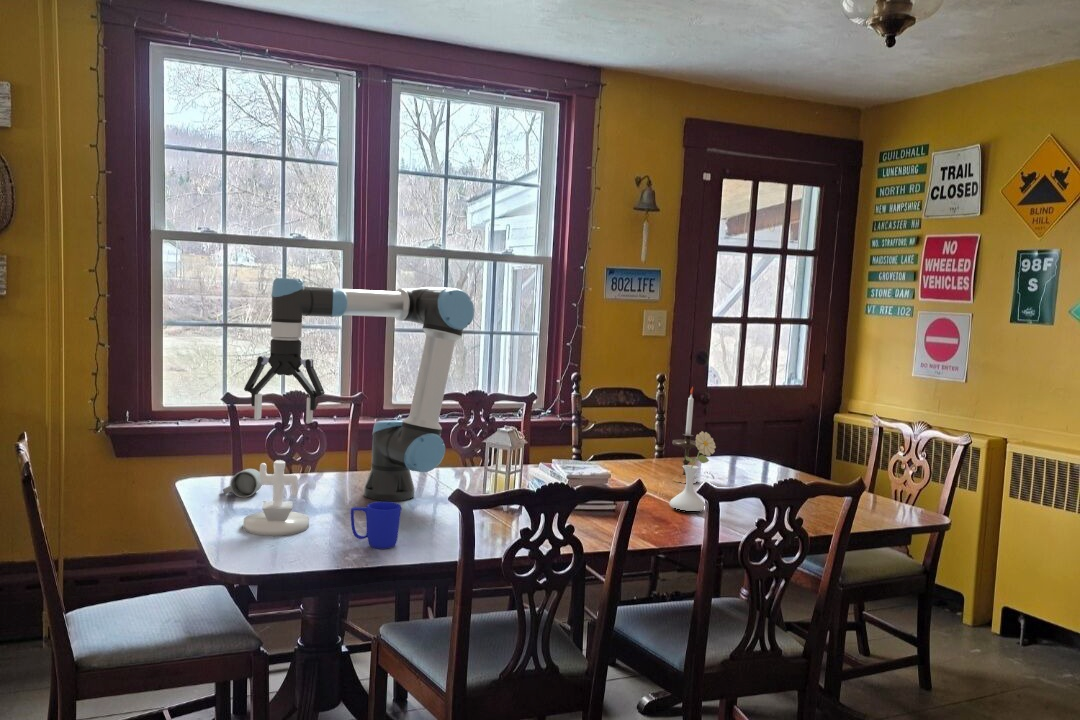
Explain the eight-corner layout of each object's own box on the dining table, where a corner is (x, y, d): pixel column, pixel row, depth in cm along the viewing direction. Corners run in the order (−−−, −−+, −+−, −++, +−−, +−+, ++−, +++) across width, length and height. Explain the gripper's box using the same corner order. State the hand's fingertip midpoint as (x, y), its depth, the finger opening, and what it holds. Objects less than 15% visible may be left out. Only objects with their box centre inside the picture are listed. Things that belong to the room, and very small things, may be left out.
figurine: (296, 522, 211) (298, 464, 210) (256, 522, 208) (259, 463, 207) (296, 514, 218) (298, 458, 217) (258, 515, 215) (260, 458, 214)
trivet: (317, 521, 221) (318, 513, 220) (294, 538, 205) (295, 530, 205) (259, 516, 222) (259, 508, 222) (232, 532, 206) (232, 524, 206)
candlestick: (702, 485, 298) (710, 388, 295) (672, 483, 298) (679, 386, 295) (696, 478, 309) (703, 385, 306) (667, 477, 309) (674, 383, 306)
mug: (351, 539, 207) (353, 500, 206) (400, 541, 208) (402, 502, 207) (346, 549, 198) (348, 508, 198) (397, 551, 199) (400, 510, 199)
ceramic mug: (264, 491, 248) (264, 466, 248) (256, 498, 240) (257, 472, 239) (227, 490, 247) (228, 465, 247) (219, 497, 239) (219, 470, 239)
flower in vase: (676, 515, 253) (683, 433, 251) (663, 505, 264) (669, 427, 262) (716, 515, 256) (723, 435, 254) (702, 506, 267) (708, 428, 265)
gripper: (338, 340, 216) (335, 421, 217) (244, 335, 217) (242, 415, 219) (329, 342, 208) (326, 426, 210) (232, 336, 210) (230, 419, 212)
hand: (283, 421), depth 214 cm, fingers open, 13 cm apart
